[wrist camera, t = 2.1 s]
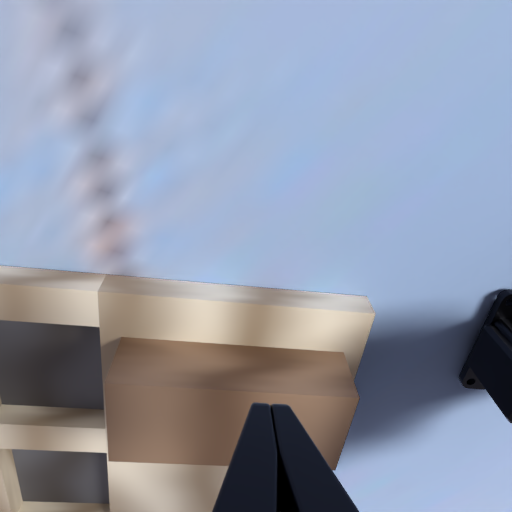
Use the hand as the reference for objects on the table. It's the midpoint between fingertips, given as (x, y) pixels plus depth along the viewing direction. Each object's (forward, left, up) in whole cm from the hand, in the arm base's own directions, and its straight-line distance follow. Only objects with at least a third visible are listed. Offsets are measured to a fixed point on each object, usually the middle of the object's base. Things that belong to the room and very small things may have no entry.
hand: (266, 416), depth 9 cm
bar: (0, +8, -10) cm, 13 cm away
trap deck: (+4, +14, -11) cm, 19 cm away
